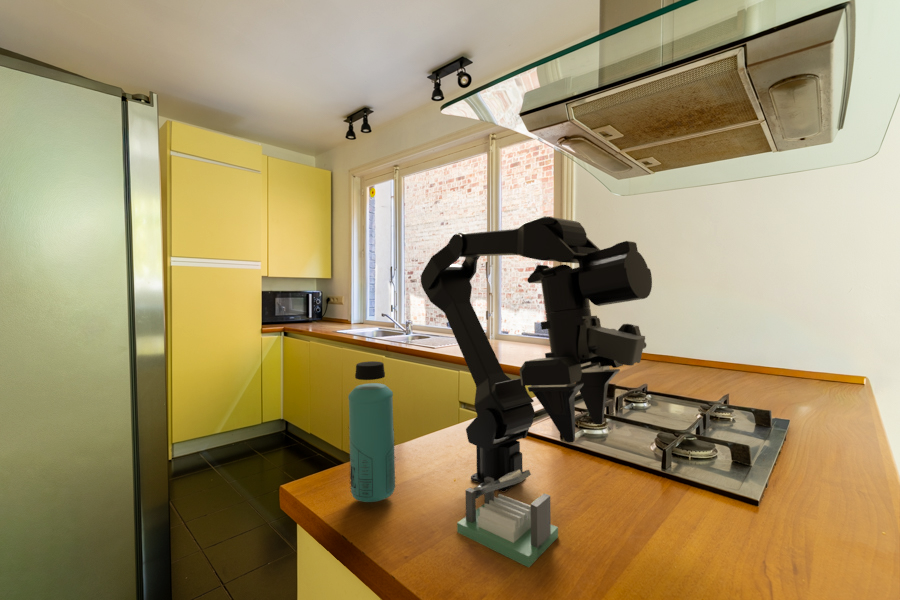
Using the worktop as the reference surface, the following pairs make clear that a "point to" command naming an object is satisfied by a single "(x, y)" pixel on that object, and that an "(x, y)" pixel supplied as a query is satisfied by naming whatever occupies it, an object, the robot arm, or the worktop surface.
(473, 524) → the board
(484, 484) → the strap
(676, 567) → the worktop surface
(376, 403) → the beverage bottle
